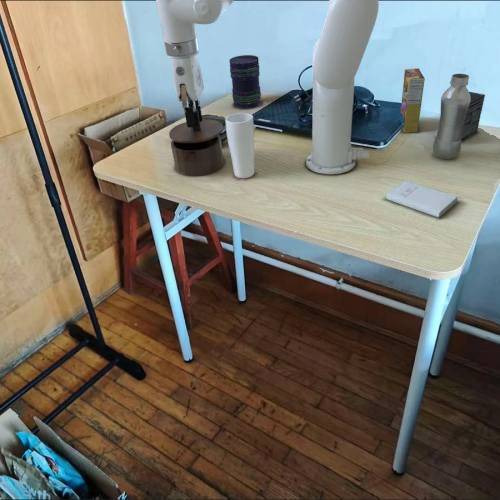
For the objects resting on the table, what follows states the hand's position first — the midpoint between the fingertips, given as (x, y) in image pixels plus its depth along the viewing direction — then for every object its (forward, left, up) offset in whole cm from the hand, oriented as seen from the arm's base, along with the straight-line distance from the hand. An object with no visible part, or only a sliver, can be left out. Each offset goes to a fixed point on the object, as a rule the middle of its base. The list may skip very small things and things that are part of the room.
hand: (195, 123), depth 116 cm
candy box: (-58, -22, -12) cm, 63 cm away
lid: (0, 0, -2) cm, 2 cm away
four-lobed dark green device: (+2, -20, -12) cm, 23 cm away
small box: (-69, -15, -12) cm, 72 cm away
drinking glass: (-12, +6, -12) cm, 18 cm away
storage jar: (-7, -46, -12) cm, 48 cm away
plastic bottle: (-63, -2, -12) cm, 65 cm away
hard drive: (-53, +20, -12) cm, 58 cm away
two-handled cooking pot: (+1, 0, -12) cm, 12 cm away
